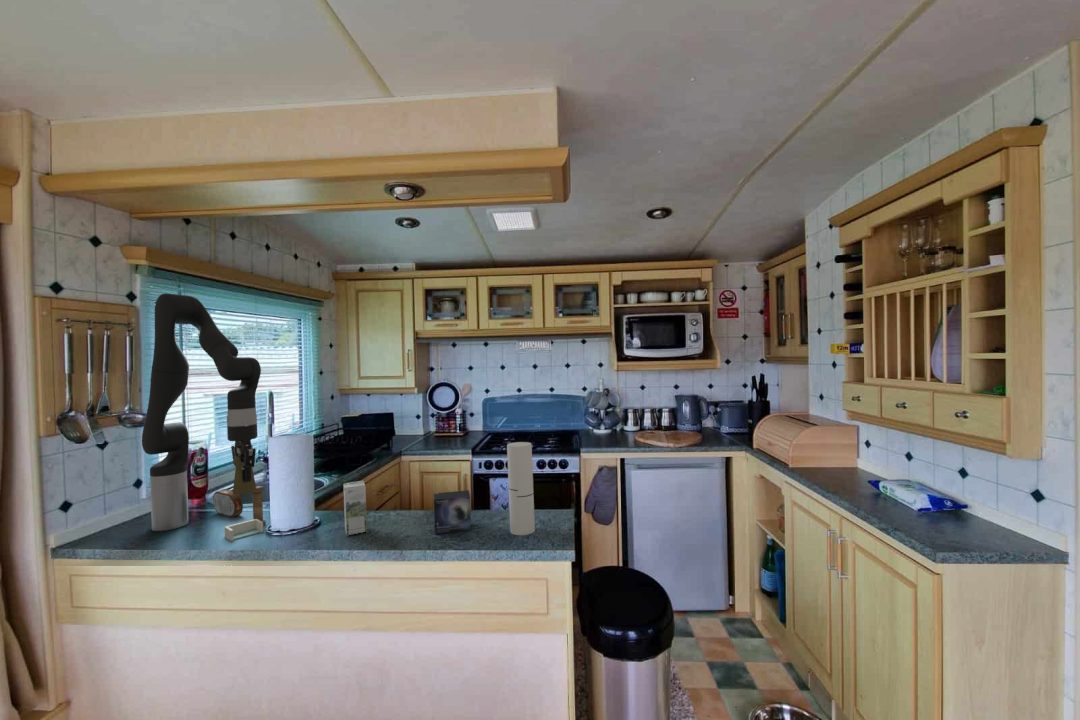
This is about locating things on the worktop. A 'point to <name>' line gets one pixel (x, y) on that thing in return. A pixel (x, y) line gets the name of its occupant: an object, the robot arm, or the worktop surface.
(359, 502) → the syrup box
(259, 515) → the bobbin
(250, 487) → the cork
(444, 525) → the small box
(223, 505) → the bread slice
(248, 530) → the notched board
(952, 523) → the worktop surface
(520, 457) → the cylindrical container
